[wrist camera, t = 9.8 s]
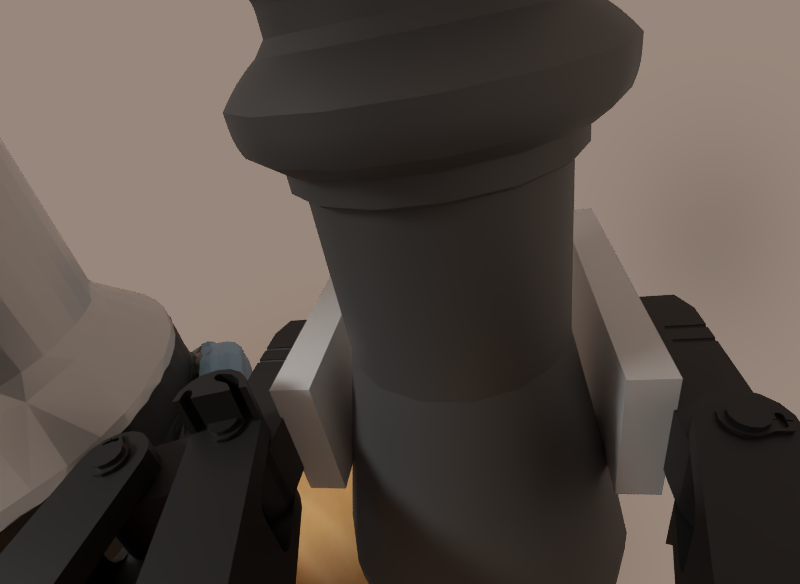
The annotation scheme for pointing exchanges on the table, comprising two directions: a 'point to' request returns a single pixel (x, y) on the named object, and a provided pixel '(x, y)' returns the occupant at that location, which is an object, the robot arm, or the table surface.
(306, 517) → the table surface
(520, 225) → the candle holder
